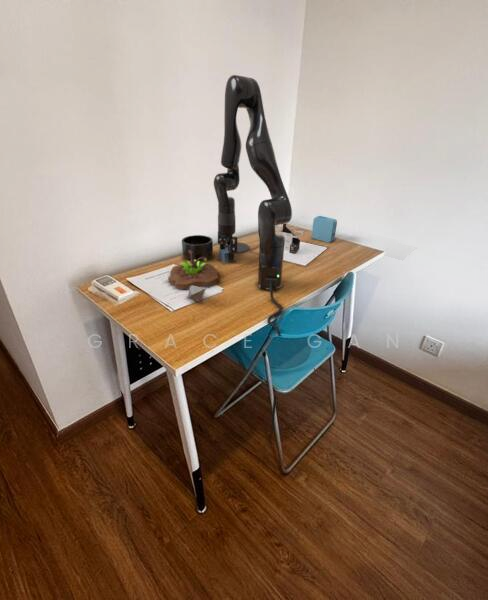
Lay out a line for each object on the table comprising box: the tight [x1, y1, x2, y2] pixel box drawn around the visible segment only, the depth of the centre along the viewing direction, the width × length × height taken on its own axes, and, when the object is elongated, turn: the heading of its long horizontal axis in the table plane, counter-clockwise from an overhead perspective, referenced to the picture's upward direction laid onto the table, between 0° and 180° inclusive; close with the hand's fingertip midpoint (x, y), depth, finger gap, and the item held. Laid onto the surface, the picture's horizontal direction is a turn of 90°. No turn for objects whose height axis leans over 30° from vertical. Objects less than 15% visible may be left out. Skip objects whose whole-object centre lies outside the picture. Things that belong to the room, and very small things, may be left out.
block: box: [219, 249, 235, 264], centre depth 145 cm, size 5×5×5 cm
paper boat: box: [187, 285, 212, 303], centre depth 114 cm, size 12×6×9 cm
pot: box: [181, 234, 214, 263], centre depth 147 cm, size 14×14×8 cm
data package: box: [311, 215, 338, 244], centre depth 174 cm, size 12×4×12 cm, turn 51°
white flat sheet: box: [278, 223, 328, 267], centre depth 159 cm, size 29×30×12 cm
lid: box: [225, 236, 250, 254], centre depth 159 cm, size 15×15×6 cm
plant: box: [168, 250, 220, 290], centre depth 128 cm, size 20×20×11 cm
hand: (226, 257), depth 146 cm, fingers open, 8 cm apart
